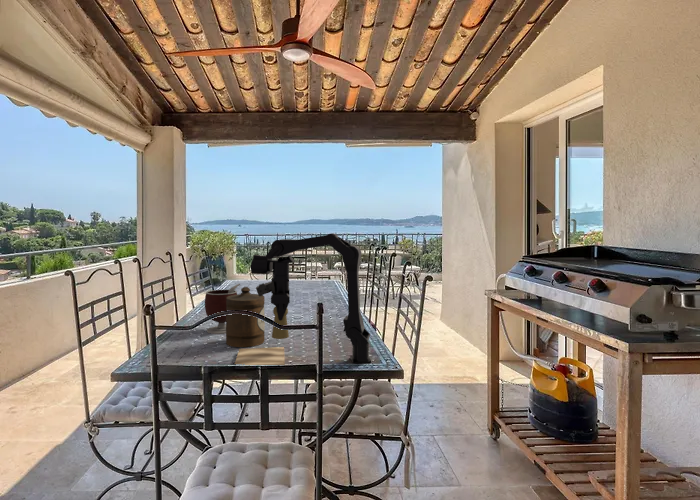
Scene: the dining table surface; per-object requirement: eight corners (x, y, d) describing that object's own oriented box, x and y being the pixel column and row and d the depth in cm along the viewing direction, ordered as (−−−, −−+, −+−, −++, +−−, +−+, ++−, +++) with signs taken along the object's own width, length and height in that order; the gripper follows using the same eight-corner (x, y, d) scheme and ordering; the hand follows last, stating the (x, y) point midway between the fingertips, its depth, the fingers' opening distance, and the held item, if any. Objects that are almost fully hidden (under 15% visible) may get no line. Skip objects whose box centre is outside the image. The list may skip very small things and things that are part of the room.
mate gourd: (212, 336, 173) (211, 288, 172) (200, 329, 184) (199, 284, 182) (246, 330, 183) (246, 285, 181) (233, 324, 193) (233, 281, 192)
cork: (280, 340, 144) (281, 308, 144) (268, 337, 148) (268, 306, 147) (292, 336, 149) (292, 305, 149) (279, 333, 153) (280, 303, 152)
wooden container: (269, 344, 163) (269, 288, 161) (231, 349, 155) (231, 291, 154) (257, 335, 175) (257, 283, 174) (221, 340, 168) (221, 285, 166)
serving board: (284, 367, 136) (284, 363, 136) (234, 370, 134) (234, 365, 133) (284, 351, 154) (284, 347, 154) (239, 352, 151) (239, 348, 151)
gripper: (259, 271, 155) (259, 313, 156) (255, 278, 137) (255, 325, 138) (289, 271, 157) (289, 312, 158) (289, 278, 138) (289, 324, 139)
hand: (280, 318), depth 148 cm, fingers closed on cork, 5 cm apart
